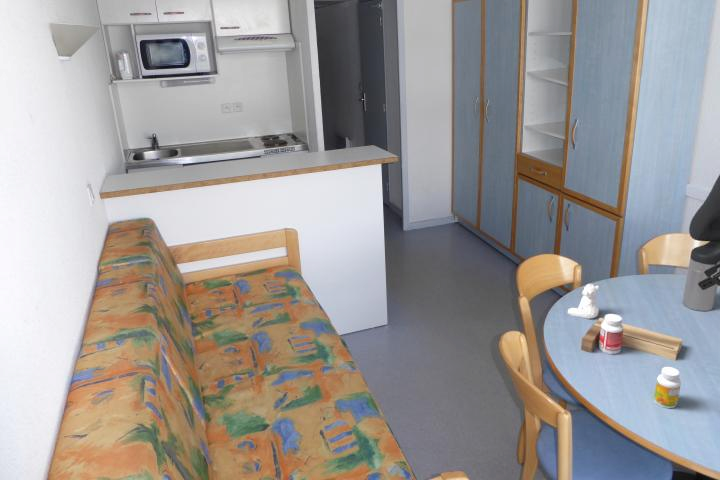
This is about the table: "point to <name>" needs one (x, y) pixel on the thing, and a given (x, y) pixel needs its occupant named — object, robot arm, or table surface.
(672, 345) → the wooden l-shaped block
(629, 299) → the table surface
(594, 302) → the seated beast figurine
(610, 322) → the pill bottle
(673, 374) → the supplement bottle
